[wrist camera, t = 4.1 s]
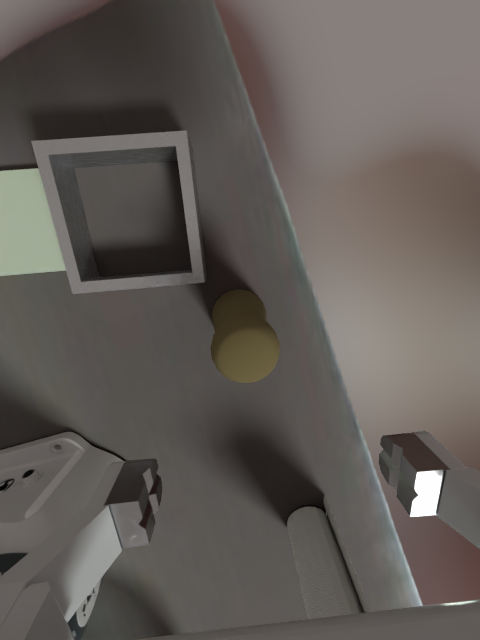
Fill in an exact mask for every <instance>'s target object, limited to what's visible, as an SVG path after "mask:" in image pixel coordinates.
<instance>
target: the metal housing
mask: <svg viewBox="0 0 480 640" xmlns="http://www.w3.org/2000/svg"><path fill="white" fill-rule="evenodd" d="M31 143H32V146H33V150H34V154H35V157H36V161H37V165H38V168H39V172H40V176H41V179H42V183H43V187H44V190H45V194H46V198H47V201H48V205H49V209H50V212H51V216H52V220H53V223H54V227H55V231H56V235H57V238H58V242H59V246H60V249H61V253H62V257H63V260H64V264H65V268H66V271H67V275H68V279H69V282H70V286H71V290H72V293H73V294H78V293H89V292H101V291H112V290H124V289H136V288H147V287H159V286H170V285H182V284H193V283H205V281H206V279H207V271H206V262H205V253H204V245H203V236H202V227H201V219H200V210H199V201H198V193H197V184H196V175H195V167H194V158H193V149H192V145H191V142H190V139H189V136H188V133H187V131H172V132H157V133H143V134H128V135H113V136H98V137H84V138H69V139H54V140H40V141H31ZM165 161H178V166H179V174H180V182H181V189H182V197H183V204H184V212H185V220H186V227H187V235H188V243H189V250H190V258H191V265H192V270H180V271H168V272H156V273H145V274H133V275H121V276H109V277H99V273H98V269H97V264H96V260H95V256H94V252H93V248H92V243H91V239H90V235H89V231H88V226H87V222H86V218H85V214H84V209H83V205H82V201H81V197H80V193H79V188H78V184H77V180H76V176H75V171H74V168H81V167H95V166H109V165H123V164H137V163H151V162H165Z"/></svg>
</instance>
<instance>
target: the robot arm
mask: <svg viewBox="0 0 480 640" xmlns="http://www.w3.org/2000/svg"><path fill="white" fill-rule="evenodd" d="M380 445H381V446H382V447H383V449H384V450H383V451H382V452H381V453H380V454H379V465H380V469H381V471H382V474H383V476H384V478H385V479H386V481H387V483H388V484H389V485H390V486H392V487H394V488H395V489H397V498H398V499H399V501H400V502H401V504H402V505H403V507H404V508H405V510H406V511H407V512H408V514H409V515H410V517H412V516H425V515H437V516H438V517H439V518H440V519H441V520H443V521H444V522H446V523H447V524H448V525H449V526H451V527H452V528H453V529H454V530H456V531H457V532H458V533H460V534H461V535H462V536H464V537H465V538H466V539H468V540H469V541H470V542H472V543H473V544H474V545H475V546H477V547H478V548H479V549H480V471H478V470H475V469H473V468H466V467H465V466H464V465H463V464H462V463H461V462H460V461H459V460H458V459H457V458H456V457H454V455H452V454H451V453H450V452H449V451H448V450H447V449H446V448H445V447H444V446H443V445H442V444H441V443H440V442H438V441H437V440H436V439H435V438H434V437H433V436H432V435H431V434H430V433H428V432H426V431H419V432H411V433H402V434H393V435H384V436H383V437H382V438H381V444H380ZM157 470H158V463H157V460H156V459H142V460H129V461H123V460H121V459H120V458H118V457H116V456H115V455H113V454H111V453H108V452H106V451H103V450H100V449H98V448H96V447H93V446H92V445H90V444H89V443H88V442H87V441H85V440H84V439H83V438H82V437H80V436H79V435H77V434H76V433H73V432H64V433H61V434H57V435H53V436H50V437H46V438H42V439H39V440H35V441H32V442H28V443H24V444H21V445H17V446H14V447H10V448H6V449H3V450H0V640H81V638H82V635H83V633H84V630H85V627H86V625H87V622H88V619H89V617H90V615H91V612H92V610H93V607H94V604H95V601H96V598H97V594H98V591H99V588H100V585H101V581H102V578H103V575H104V574H105V572H106V571H107V570H108V568H109V567H110V566H111V564H112V563H113V562H114V560H115V559H116V558H117V556H118V555H119V554H120V552H121V551H122V548H129V547H136V546H143V545H149V544H150V540H151V537H152V533H153V529H154V525H155V518H154V513H155V512H156V511H157V510H158V509H159V506H160V502H161V496H162V481H161V477H160V476H159V475H158V474H157ZM134 640H480V600H471V601H462V602H453V603H445V604H436V605H428V606H419V607H410V608H401V609H393V610H384V611H375V612H367V613H358V614H349V615H340V616H332V617H323V618H314V619H306V620H297V621H288V622H280V623H271V624H263V625H254V626H245V627H237V628H228V629H220V630H211V631H203V632H194V633H186V634H177V635H168V636H160V637H151V638H142V639H134Z"/></svg>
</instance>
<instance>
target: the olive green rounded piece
mask: <svg viewBox="0 0 480 640" xmlns="http://www.w3.org/2000/svg"><path fill="white" fill-rule="evenodd" d="M212 322H213V326H214V329H215V334H214V336H213V340H212V344H211V355H212V359H213V361H214V364H215V366H216V368H217V370H218V371H219V372H220V373H221V374H222V375H223V376H224V377H226V378H228V379H230V380H232V381H235V382H240V383H250V382H255V381H257V380H260V379H263V378H264V377H265V376H267V375H268V374H269V373H270V372H271V371H272V370H273V368H274V367H275V366H276V364H277V361H278V358H279V353H280V352H279V340H278V337H277V335H276V332H275V331H274V330H273V328H272V327H271V326H270V325H269V324H268V322H267V320H266V310H265V307H264V305H263V302H262V301H261V300H260V299H259V297H258V296H257V295H255V294H254V293H252V292H250V291H247V290H243V289H237V290H231V291H229V292H226V293H224V294H223V295H222V296H221V297H219V298H218V300H217V301H216V303H215V304H214V306H213V311H212Z"/></svg>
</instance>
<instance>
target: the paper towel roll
mask: <svg viewBox="0 0 480 640" xmlns="http://www.w3.org/2000/svg"><path fill="white" fill-rule="evenodd" d="M324 506H325V509H326V511H327V516H326V514H325V513H324V512H323V511H322V510H321V509H319V508H316V507H303V508H299V509H298V510H296V511H294V512H293V513H292V514H291V515H290V516H289V518H288V522H287V528H288V533H289V537H290V542H291V546H292V551H293V555H294V560H295V564H296V569H297V574H298V578H299V583H300V587H301V592H302V596H303V601H304V605H305V610H306V615H307V619H314V618H323V617H332V616H340V615H349V614H358V613H367V612H372V611H371V609H370V606H369V604H368V601H367V599H366V596H365V594H364V591H363V589H362V586H361V584H360V581H359V579H358V576H357V574H356V571H355V569H354V566H353V564H352V561H351V559H350V556H349V554H348V551H347V549H346V546H345V544H344V541H343V539H342V536H341V534H340V531H339V529H338V526H337V524H336V521H335V519H334V516H333V514H332V511H331V509H330V506H329V504H328V501H327V499H326V497H325V500H324Z"/></svg>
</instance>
